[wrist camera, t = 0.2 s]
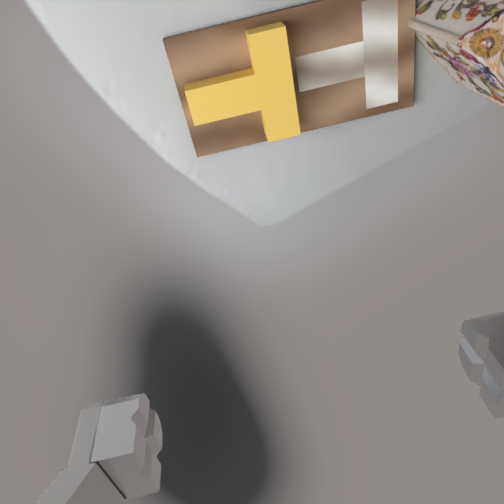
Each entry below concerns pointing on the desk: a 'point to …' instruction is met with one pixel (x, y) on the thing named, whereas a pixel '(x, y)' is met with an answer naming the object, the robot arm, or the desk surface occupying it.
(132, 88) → the desk surface
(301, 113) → the board
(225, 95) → the t block
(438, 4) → the decorative jar
